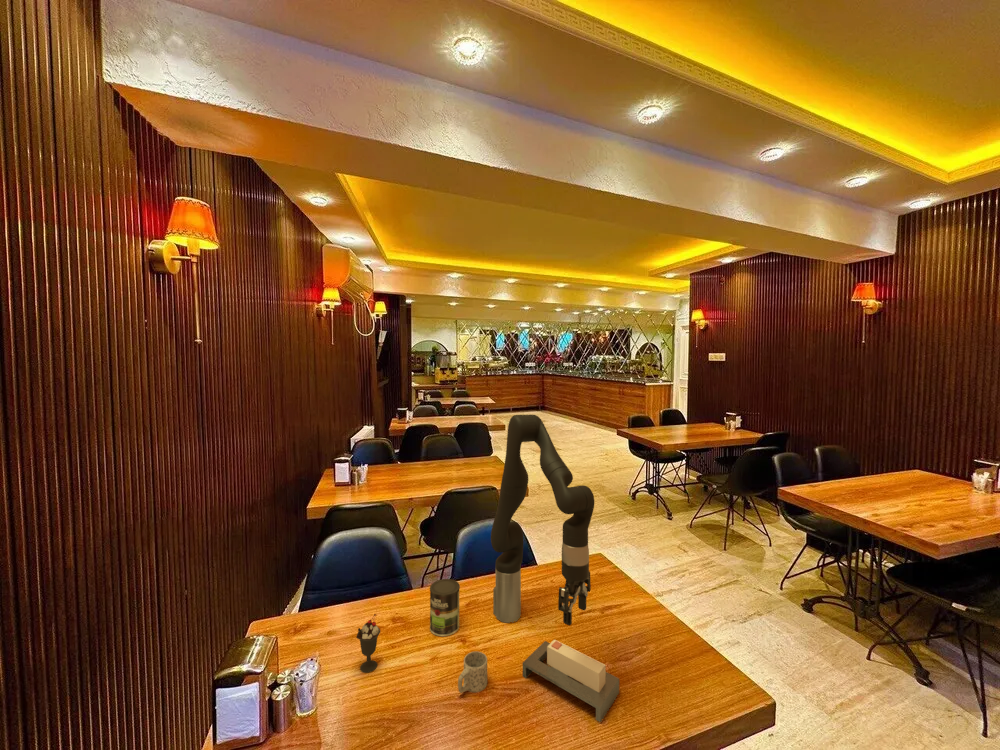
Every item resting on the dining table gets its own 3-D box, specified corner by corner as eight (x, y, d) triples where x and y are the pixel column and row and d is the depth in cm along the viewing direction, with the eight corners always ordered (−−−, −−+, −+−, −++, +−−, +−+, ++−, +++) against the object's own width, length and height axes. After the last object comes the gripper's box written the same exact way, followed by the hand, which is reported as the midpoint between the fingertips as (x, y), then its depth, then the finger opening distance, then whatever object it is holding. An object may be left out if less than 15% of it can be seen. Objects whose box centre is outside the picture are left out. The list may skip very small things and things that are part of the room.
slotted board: (522, 676, 113) (522, 662, 113) (545, 653, 122) (545, 640, 122) (600, 723, 97) (600, 707, 97) (619, 693, 107) (619, 678, 107)
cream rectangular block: (547, 674, 112) (547, 645, 112) (554, 666, 115) (554, 638, 115) (599, 704, 102) (599, 672, 102) (605, 694, 105) (605, 663, 105)
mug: (474, 670, 115) (474, 648, 115) (492, 681, 111) (492, 658, 111) (450, 691, 107) (450, 667, 107) (467, 704, 103) (467, 679, 103)
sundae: (385, 661, 119) (384, 612, 119) (370, 677, 112) (370, 625, 112) (367, 656, 121) (366, 608, 121) (352, 671, 114) (352, 620, 115)
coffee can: (450, 640, 128) (450, 597, 128) (423, 632, 132) (423, 590, 132) (465, 621, 138) (464, 581, 138) (439, 615, 142) (439, 576, 142)
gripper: (575, 545, 116) (575, 600, 117) (550, 563, 105) (549, 623, 106) (598, 553, 112) (598, 609, 112) (574, 572, 101) (574, 635, 101)
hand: (575, 616), depth 109 cm, fingers open, 8 cm apart
